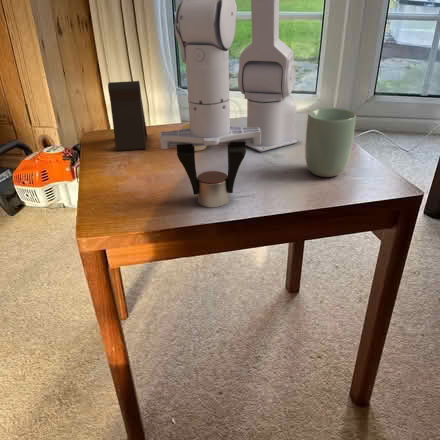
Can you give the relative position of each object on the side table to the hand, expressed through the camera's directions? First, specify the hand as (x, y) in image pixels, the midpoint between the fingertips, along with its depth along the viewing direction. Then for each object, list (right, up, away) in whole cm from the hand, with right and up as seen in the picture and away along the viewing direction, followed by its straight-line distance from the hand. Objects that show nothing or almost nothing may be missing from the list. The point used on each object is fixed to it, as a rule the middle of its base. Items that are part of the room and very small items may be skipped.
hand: (212, 191), depth 70 cm
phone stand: (-17, +16, +25) cm, 34 cm away
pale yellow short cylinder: (-4, +14, +22) cm, 26 cm away
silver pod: (0, -1, +1) cm, 2 cm away
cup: (+20, +5, +9) cm, 22 cm away
